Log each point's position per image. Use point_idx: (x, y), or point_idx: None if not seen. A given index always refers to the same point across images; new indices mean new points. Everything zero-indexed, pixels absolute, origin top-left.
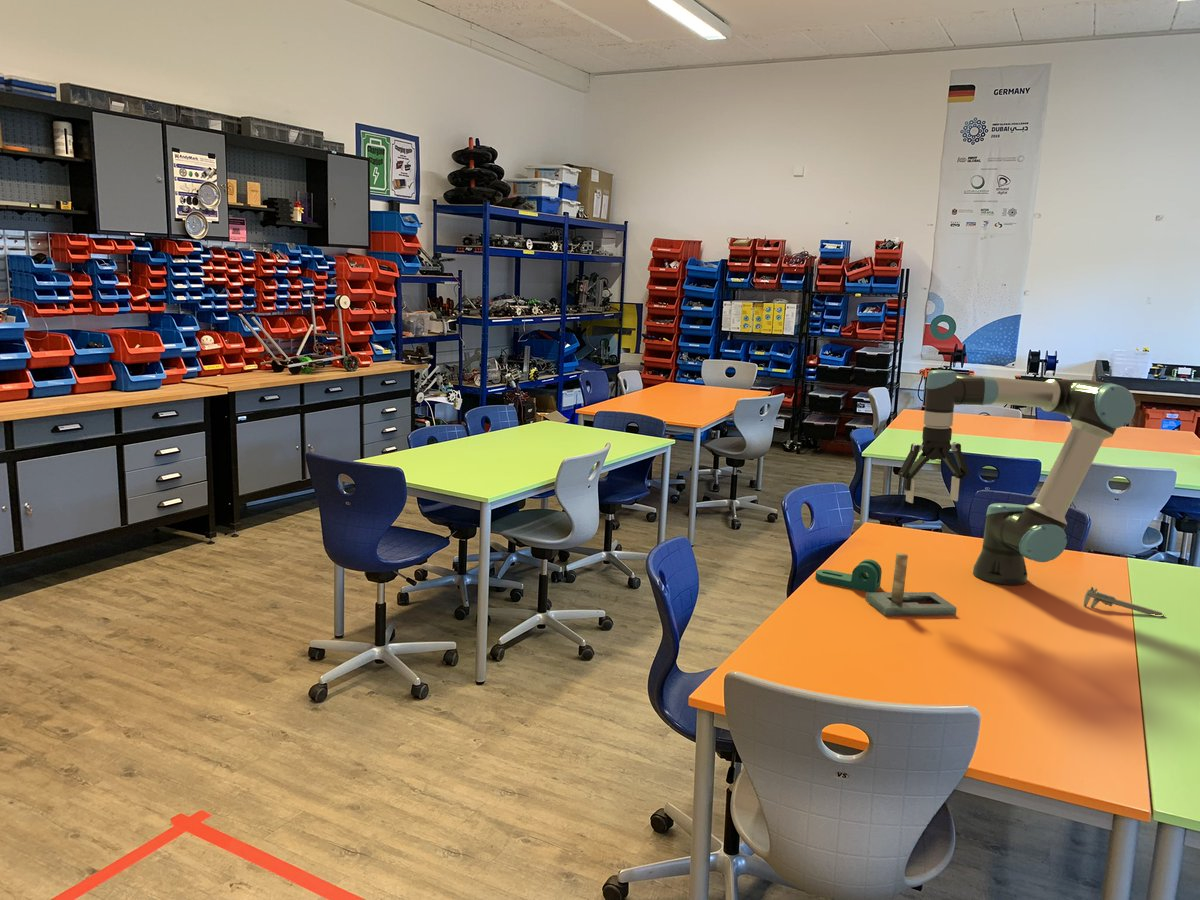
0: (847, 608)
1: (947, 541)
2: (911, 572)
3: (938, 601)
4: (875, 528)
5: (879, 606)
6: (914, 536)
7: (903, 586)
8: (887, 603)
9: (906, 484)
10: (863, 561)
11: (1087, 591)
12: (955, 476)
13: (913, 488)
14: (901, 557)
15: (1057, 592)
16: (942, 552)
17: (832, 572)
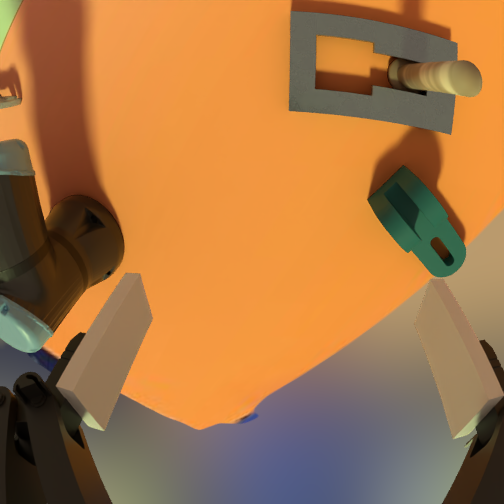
0: (493, 101)
1: None
2: (241, 275)
3: (314, 50)
4: (201, 421)
5: None
6: (159, 396)
7: (421, 63)
8: None
9: (501, 374)
10: (419, 239)
11: (2, 105)
12: (80, 421)
13: (468, 347)
14: (473, 66)
15: None
16: None
17: (436, 260)
